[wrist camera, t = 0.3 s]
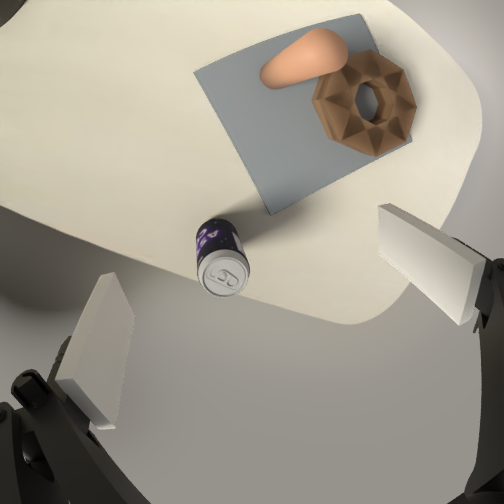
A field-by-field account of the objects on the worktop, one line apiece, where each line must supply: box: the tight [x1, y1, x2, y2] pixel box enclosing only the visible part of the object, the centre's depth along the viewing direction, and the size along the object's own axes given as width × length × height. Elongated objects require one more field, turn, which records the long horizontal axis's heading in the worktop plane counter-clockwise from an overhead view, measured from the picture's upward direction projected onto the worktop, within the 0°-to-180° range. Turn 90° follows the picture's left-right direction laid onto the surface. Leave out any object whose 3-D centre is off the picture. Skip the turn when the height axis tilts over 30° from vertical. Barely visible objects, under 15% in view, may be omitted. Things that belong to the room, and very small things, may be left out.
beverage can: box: [196, 219, 250, 298], centre depth 36 cm, size 6×6×12 cm
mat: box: [193, 14, 412, 215], centre depth 36 cm, size 22×26×1 cm
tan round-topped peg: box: [260, 28, 348, 90], centre depth 26 cm, size 4×4×16 cm
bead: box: [311, 49, 417, 157], centre depth 34 cm, size 14×14×4 cm
